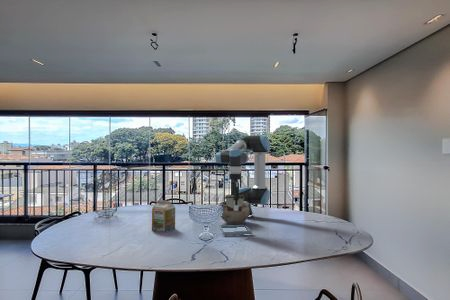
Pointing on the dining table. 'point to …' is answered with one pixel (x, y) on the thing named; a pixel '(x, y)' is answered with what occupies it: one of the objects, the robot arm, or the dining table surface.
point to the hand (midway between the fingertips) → (234, 209)
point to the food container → (231, 203)
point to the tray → (235, 231)
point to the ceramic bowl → (235, 214)
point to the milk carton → (163, 216)
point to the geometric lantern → (105, 193)
